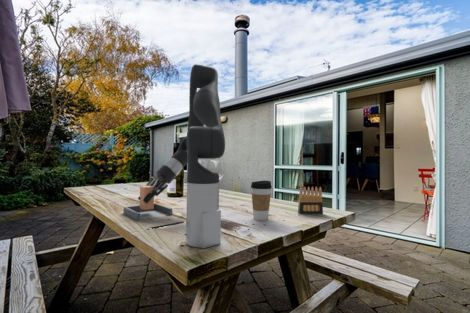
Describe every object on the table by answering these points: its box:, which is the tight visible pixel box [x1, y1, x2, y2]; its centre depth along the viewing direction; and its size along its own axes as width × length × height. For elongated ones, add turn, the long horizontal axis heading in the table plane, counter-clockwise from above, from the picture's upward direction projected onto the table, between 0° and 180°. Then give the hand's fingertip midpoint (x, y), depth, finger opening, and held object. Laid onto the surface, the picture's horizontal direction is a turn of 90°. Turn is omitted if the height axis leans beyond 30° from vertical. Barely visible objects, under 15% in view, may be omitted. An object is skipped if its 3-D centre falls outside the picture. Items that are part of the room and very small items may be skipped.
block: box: [139, 185, 155, 210], centre depth 102 cm, size 4×4×9 cm
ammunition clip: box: [297, 186, 324, 215], centre depth 110 cm, size 11×2×12 cm, turn 94°
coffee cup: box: [250, 180, 273, 221], centre depth 100 cm, size 8×8×15 cm
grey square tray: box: [123, 202, 173, 221], centre depth 101 cm, size 15×14×4 cm
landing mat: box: [150, 221, 185, 230], centre depth 91 cm, size 9×12×1 cm
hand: (142, 200), depth 100 cm, fingers closed on block, 4 cm apart
